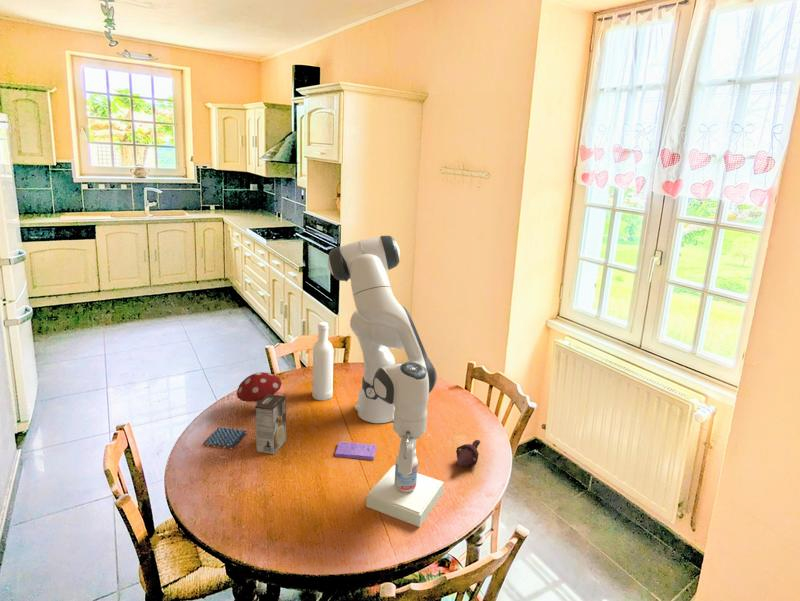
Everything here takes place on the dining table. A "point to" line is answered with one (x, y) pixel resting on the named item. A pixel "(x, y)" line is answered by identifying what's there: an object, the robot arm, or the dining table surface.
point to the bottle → (322, 365)
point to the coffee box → (270, 423)
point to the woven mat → (225, 438)
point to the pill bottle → (409, 482)
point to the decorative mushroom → (258, 387)
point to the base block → (405, 498)
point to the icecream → (467, 454)
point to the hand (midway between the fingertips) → (406, 468)
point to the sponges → (355, 450)
